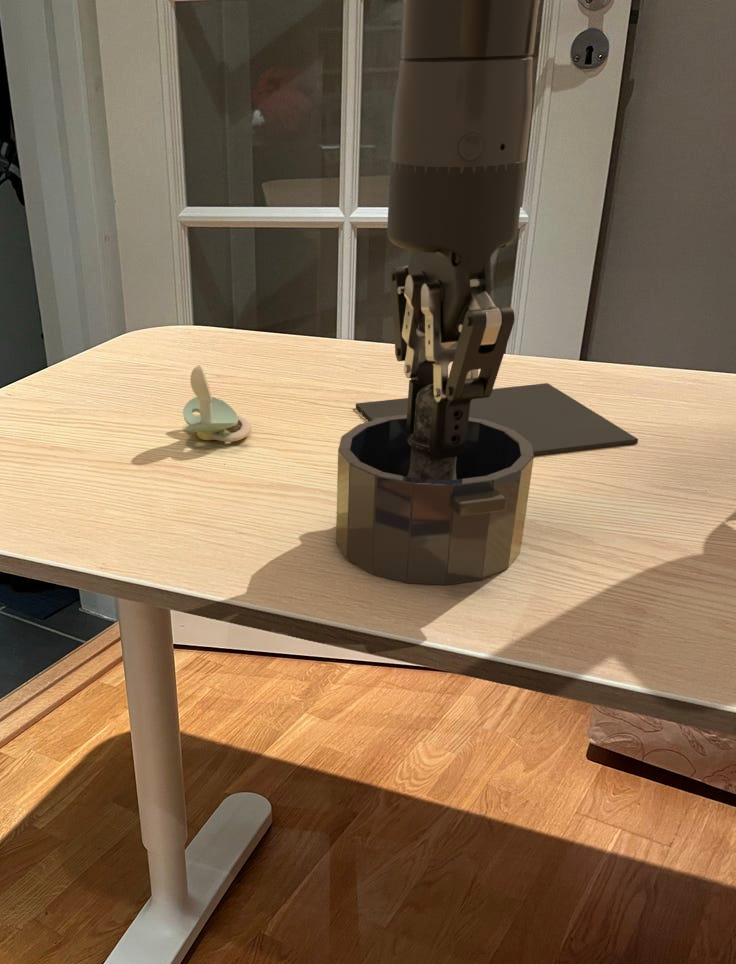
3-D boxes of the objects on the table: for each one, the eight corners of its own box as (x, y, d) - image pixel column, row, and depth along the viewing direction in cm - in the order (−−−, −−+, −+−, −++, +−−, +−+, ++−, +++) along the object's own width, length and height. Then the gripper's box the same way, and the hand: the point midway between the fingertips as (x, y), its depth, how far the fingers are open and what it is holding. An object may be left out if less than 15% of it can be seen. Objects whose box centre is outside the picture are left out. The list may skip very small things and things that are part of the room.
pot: (464, 486, 73) (473, 399, 69) (563, 580, 60) (581, 480, 57) (310, 506, 71) (310, 417, 67) (379, 607, 58) (384, 504, 54)
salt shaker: (388, 519, 69) (397, 355, 62) (470, 524, 68) (488, 358, 61) (380, 556, 64) (390, 383, 57) (468, 563, 63) (488, 387, 56)
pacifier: (245, 419, 88) (182, 421, 87) (245, 352, 84) (179, 354, 84) (256, 447, 82) (187, 450, 81) (256, 376, 78) (185, 379, 78)
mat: (547, 386, 93) (547, 382, 93) (637, 443, 80) (638, 438, 80) (355, 407, 89) (355, 403, 89) (417, 470, 76) (417, 465, 76)
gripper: (583, 162, 47) (537, 478, 57) (468, 138, 59) (445, 404, 68) (445, 170, 46) (420, 493, 55) (354, 145, 58) (347, 415, 67)
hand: (434, 442), depth 62 cm, fingers closed on salt shaker, 3 cm apart
